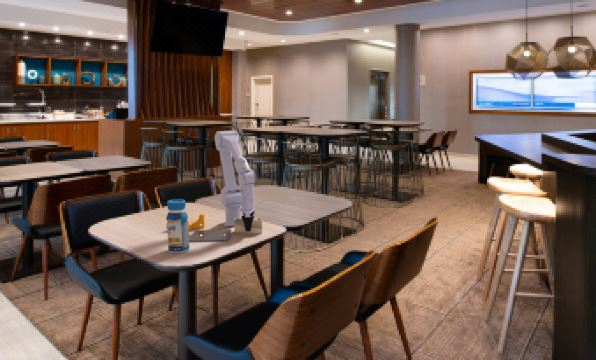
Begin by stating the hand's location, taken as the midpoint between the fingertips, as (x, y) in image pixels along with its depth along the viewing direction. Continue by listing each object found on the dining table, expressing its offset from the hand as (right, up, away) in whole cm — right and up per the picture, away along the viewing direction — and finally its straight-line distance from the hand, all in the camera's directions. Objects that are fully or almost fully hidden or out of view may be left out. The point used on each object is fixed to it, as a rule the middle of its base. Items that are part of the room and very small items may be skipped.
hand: (248, 228), depth 198 cm
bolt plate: (-16, -3, -5) cm, 17 cm away
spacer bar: (0, -2, 0) cm, 2 cm away
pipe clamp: (-27, -1, +7) cm, 28 cm away
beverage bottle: (-25, -6, -22) cm, 34 cm away
